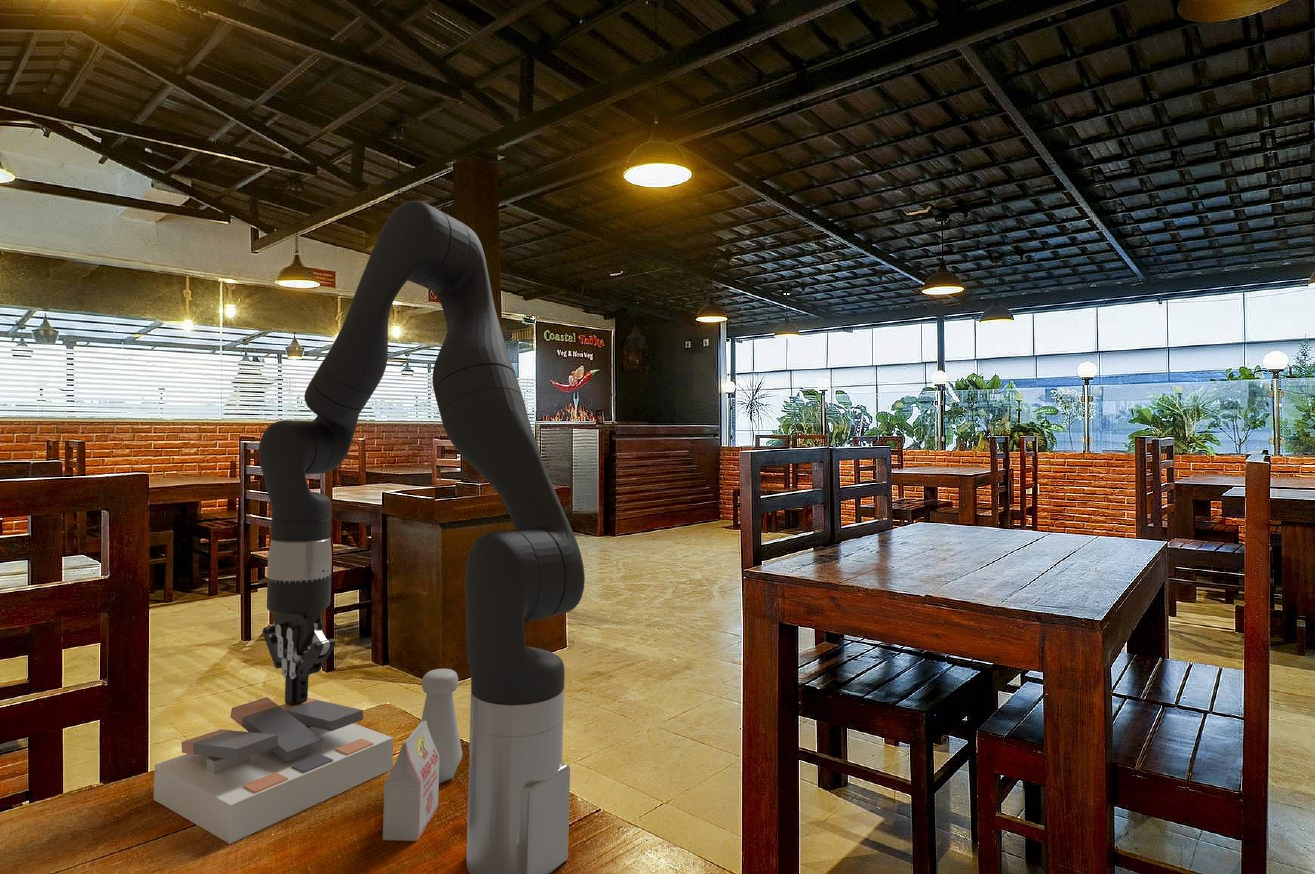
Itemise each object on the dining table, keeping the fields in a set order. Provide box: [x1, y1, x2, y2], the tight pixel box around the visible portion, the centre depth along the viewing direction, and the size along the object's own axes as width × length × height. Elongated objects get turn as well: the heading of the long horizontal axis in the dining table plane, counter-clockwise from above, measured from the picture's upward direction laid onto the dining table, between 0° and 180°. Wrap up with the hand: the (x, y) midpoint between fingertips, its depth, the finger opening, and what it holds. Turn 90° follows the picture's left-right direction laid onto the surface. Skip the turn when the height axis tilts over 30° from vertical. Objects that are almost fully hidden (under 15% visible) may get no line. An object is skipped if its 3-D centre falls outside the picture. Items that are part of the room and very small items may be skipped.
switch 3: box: [278, 697, 364, 731], centre depth 91 cm, size 12×4×1 cm, turn 59°
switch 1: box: [181, 728, 278, 760], centre depth 82 cm, size 12×4×1 cm, turn 59°
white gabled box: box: [382, 720, 440, 842], centre depth 78 cm, size 4×7×10 cm, turn 0°
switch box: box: [153, 723, 394, 845], centre depth 86 cm, size 16×20×5 cm
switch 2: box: [230, 697, 323, 762], centre depth 86 cm, size 12×4×1 cm, turn 59°
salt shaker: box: [420, 668, 463, 784], centre depth 89 cm, size 6×6×13 cm
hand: (295, 703), depth 94 cm, fingers closed
